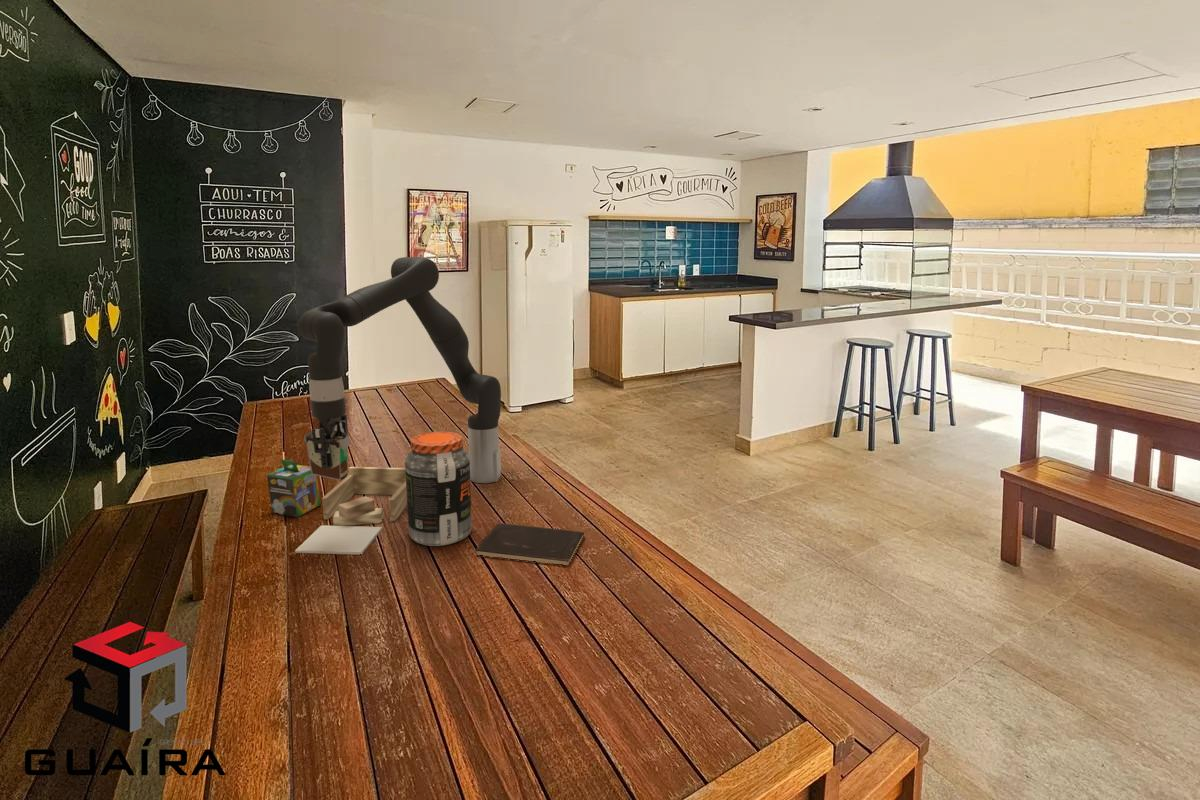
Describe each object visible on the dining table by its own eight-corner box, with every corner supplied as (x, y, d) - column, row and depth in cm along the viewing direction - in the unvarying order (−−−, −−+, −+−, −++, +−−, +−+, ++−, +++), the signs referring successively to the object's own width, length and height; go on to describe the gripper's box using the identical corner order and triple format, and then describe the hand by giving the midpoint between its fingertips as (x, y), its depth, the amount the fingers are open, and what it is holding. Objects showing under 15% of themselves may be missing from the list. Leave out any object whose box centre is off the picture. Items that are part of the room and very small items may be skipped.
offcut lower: (383, 518, 178) (382, 507, 178) (381, 524, 174) (381, 513, 174) (336, 521, 176) (335, 511, 175) (333, 527, 172) (332, 517, 171)
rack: (416, 493, 194) (415, 468, 192) (394, 521, 175) (392, 493, 173) (352, 492, 194) (350, 466, 192) (323, 519, 176) (321, 491, 174)
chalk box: (321, 505, 185) (317, 455, 181) (297, 518, 176) (291, 466, 173) (295, 501, 188) (290, 451, 184) (270, 513, 179) (264, 462, 176)
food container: (364, 473, 160) (360, 434, 158) (345, 481, 155) (341, 441, 152) (327, 465, 165) (323, 427, 163) (307, 473, 160) (302, 434, 157)
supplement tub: (475, 544, 163) (472, 445, 157) (409, 552, 159) (403, 450, 152) (469, 518, 178) (465, 426, 171) (408, 525, 173) (402, 431, 167)
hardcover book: (568, 569, 153) (568, 560, 152) (475, 558, 157) (475, 549, 157) (584, 539, 168) (584, 530, 167) (499, 529, 172) (498, 521, 172)
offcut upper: (366, 506, 178) (365, 496, 178) (374, 510, 176) (374, 499, 175) (339, 515, 172) (338, 504, 172) (347, 519, 170) (346, 508, 169)
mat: (382, 529, 171) (381, 527, 170) (361, 554, 157) (361, 552, 157) (321, 527, 171) (321, 525, 171) (295, 552, 157) (295, 550, 157)
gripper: (329, 404, 148) (336, 473, 152) (355, 389, 162) (360, 453, 166) (297, 403, 148) (304, 472, 152) (325, 388, 162) (331, 452, 166)
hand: (333, 462), depth 159 cm, fingers closed on food container, 7 cm apart
